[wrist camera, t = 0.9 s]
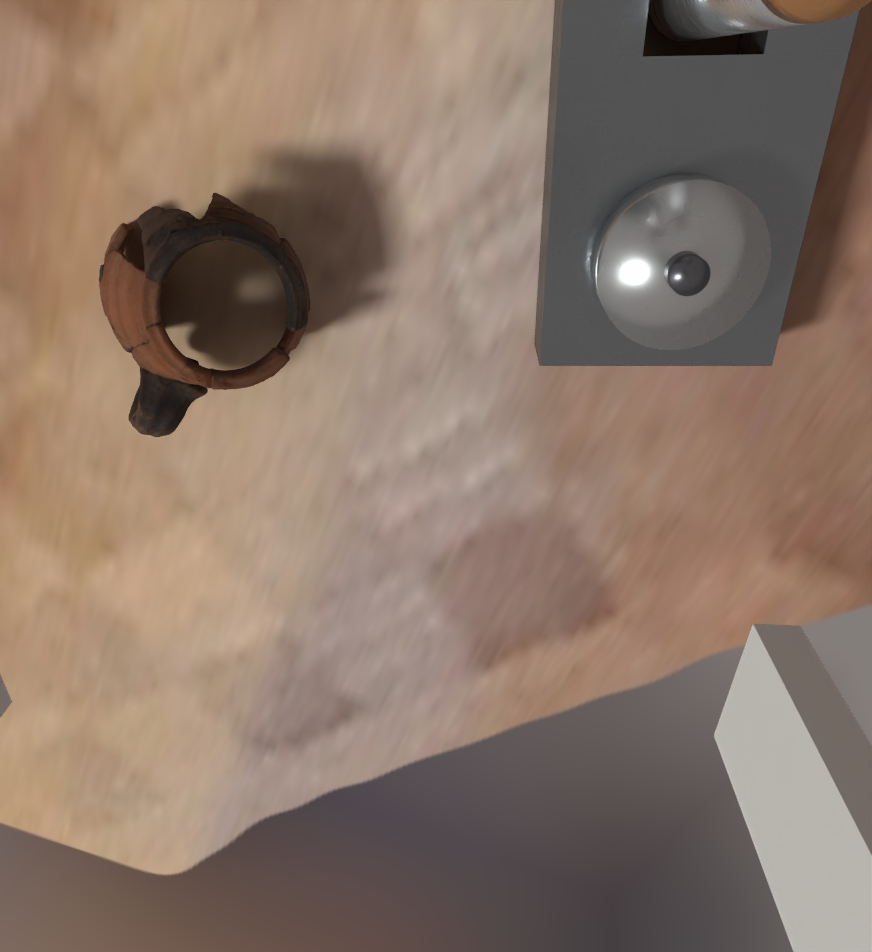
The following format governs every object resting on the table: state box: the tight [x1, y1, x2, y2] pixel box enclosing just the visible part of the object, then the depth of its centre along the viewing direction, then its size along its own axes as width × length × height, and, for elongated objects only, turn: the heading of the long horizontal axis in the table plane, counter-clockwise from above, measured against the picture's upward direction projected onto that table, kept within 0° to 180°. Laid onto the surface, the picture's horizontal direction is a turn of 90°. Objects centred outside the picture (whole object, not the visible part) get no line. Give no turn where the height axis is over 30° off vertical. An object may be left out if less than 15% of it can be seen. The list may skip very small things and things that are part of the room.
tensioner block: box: [535, 0, 859, 366], centre depth 28 cm, size 20×11×6 cm, turn 1°
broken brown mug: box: [99, 193, 310, 437], centre depth 33 cm, size 12×10×8 cm
